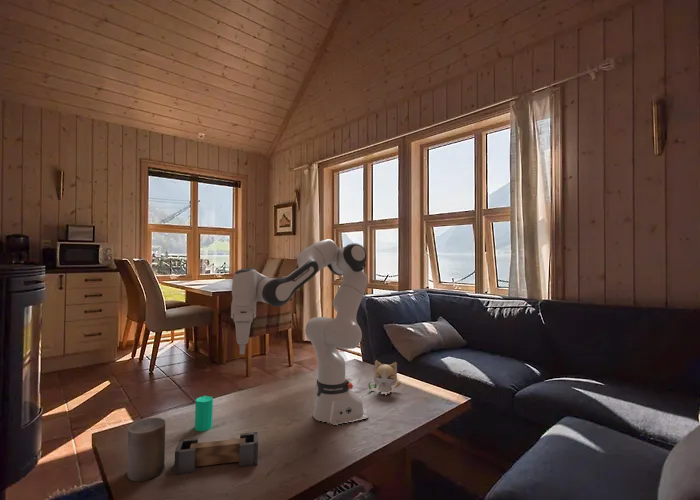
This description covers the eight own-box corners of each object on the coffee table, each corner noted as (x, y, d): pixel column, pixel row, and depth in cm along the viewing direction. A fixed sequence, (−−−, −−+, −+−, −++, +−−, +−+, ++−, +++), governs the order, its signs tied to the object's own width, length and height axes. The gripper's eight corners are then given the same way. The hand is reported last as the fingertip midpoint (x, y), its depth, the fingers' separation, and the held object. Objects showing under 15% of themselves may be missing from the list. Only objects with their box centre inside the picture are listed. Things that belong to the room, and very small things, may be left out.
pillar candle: (170, 462, 111) (171, 413, 111) (154, 482, 101) (155, 428, 102) (138, 462, 111) (139, 413, 111) (118, 482, 101) (120, 428, 101)
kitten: (366, 395, 169) (367, 363, 169) (370, 387, 179) (371, 357, 179) (398, 399, 165) (399, 366, 166) (400, 391, 175) (401, 360, 175)
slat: (245, 455, 115) (245, 437, 115) (244, 460, 112) (245, 442, 112) (190, 461, 111) (191, 443, 111) (189, 467, 108) (189, 448, 108)
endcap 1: (174, 475, 105) (174, 452, 105) (178, 460, 112) (179, 439, 112) (194, 472, 106) (194, 450, 106) (197, 458, 113) (198, 437, 114)
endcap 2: (256, 451, 118) (257, 431, 118) (257, 464, 111) (258, 443, 111) (239, 454, 117) (240, 433, 117) (239, 467, 110) (239, 445, 110)
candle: (206, 432, 130) (207, 398, 130) (191, 430, 131) (192, 396, 132) (215, 424, 136) (216, 392, 136) (201, 422, 137) (202, 390, 137)
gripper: (235, 308, 142) (234, 343, 142) (233, 317, 122) (232, 358, 122) (252, 308, 144) (251, 343, 144) (252, 317, 124) (251, 357, 124)
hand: (242, 350), depth 133 cm, fingers open, 8 cm apart
